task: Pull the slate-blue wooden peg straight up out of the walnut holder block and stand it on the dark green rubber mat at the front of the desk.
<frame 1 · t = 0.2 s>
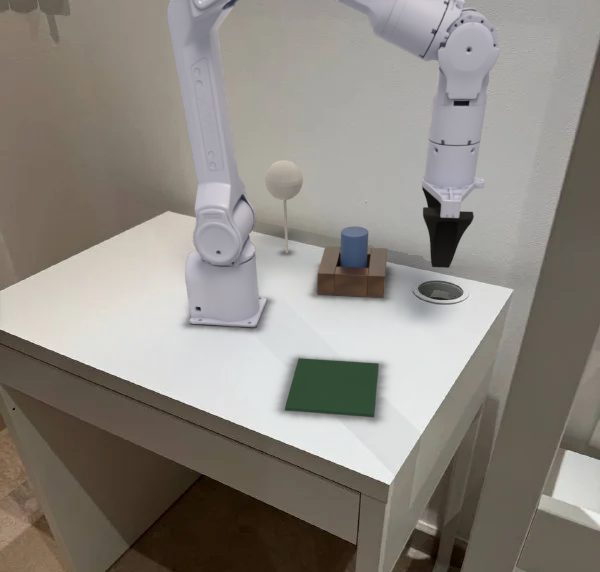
hand: (439, 253, 75), 10 cm above the table, tool pointing down, fingers open, 7 cm apart
peg: (353, 257, 89), in the holder
lollipop: (287, 253, 100), on the table
holder: (353, 281, 91), on the table
mat: (333, 387, 70), on the table
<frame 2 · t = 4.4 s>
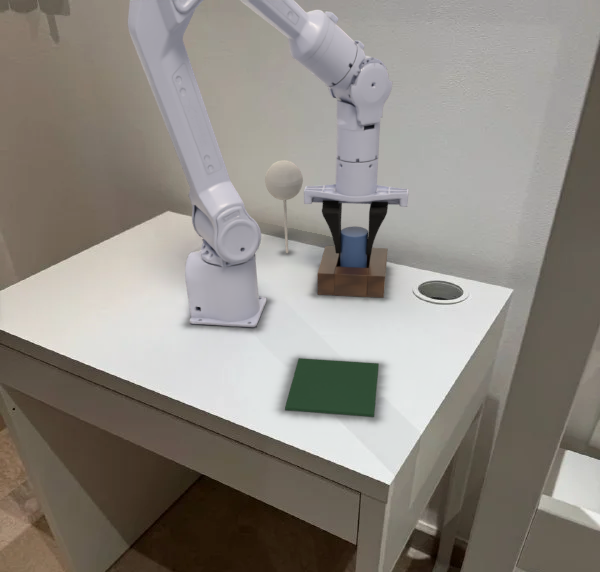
hand: (354, 251, 88), 5 cm above the table, tool pointing down, fingers closed on peg, 4 cm apart
peg: (353, 257, 89), in the holder, touching gripper
everything else where it was.
when the fingers open (5 cm above the table, at t = 10.3 s): peg stays where it is, resting on mat.
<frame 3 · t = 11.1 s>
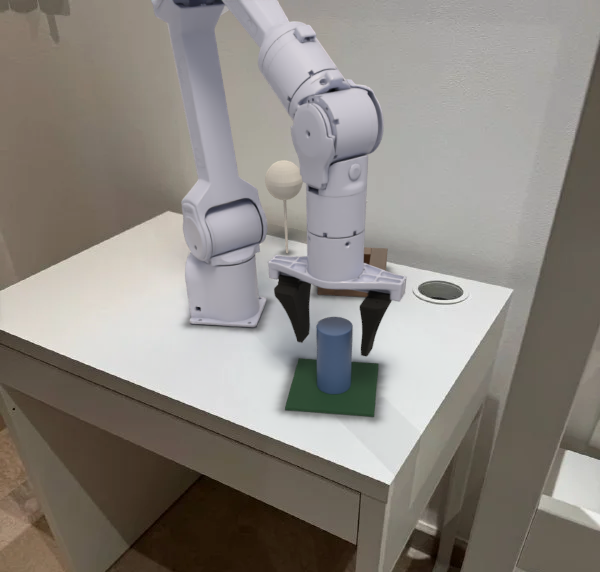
hand: (334, 344, 66), 6 cm above the table, tool pointing down, fingers open, 7 cm apart
peg: (334, 356, 67), on the mat
everything else where it was.
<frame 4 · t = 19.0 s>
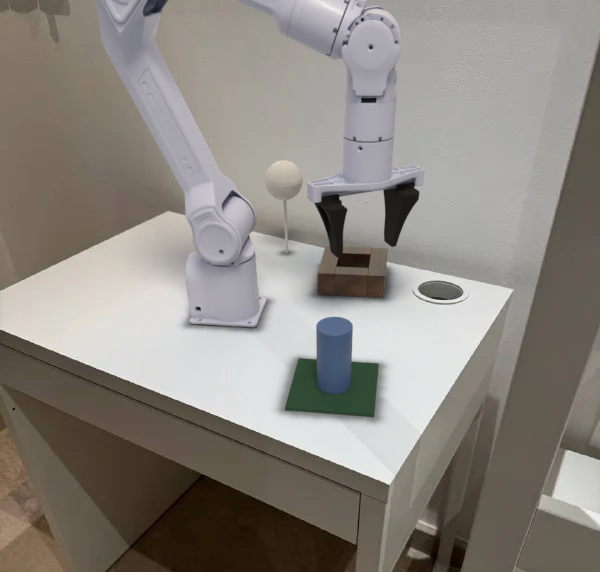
hand: (363, 248, 76), 10 cm above the table, tool pointing down, fingers open, 7 cm apart
nothing on the table moved.
at the end: peg inside the target area on the mat (0.0 cm from its centre), point 4.4 cm above the mat's base; peg tilted 0°; peg touching mat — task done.
